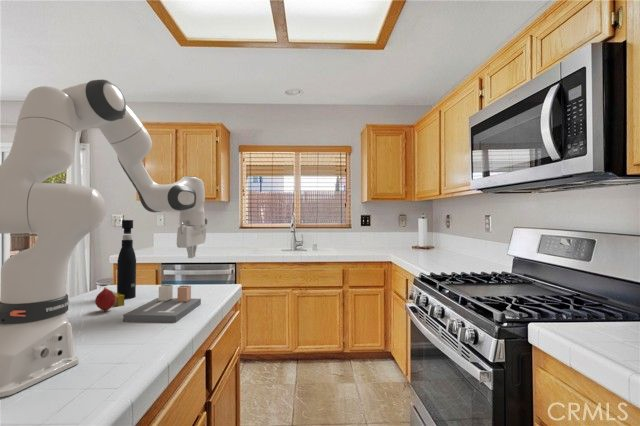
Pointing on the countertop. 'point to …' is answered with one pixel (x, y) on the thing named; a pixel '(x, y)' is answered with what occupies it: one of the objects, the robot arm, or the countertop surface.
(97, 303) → the onion
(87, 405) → the countertop surface
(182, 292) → the fader
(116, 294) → the medication box
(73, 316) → the countertop surface
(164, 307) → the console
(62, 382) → the countertop surface
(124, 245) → the wine bottle
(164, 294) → the block
